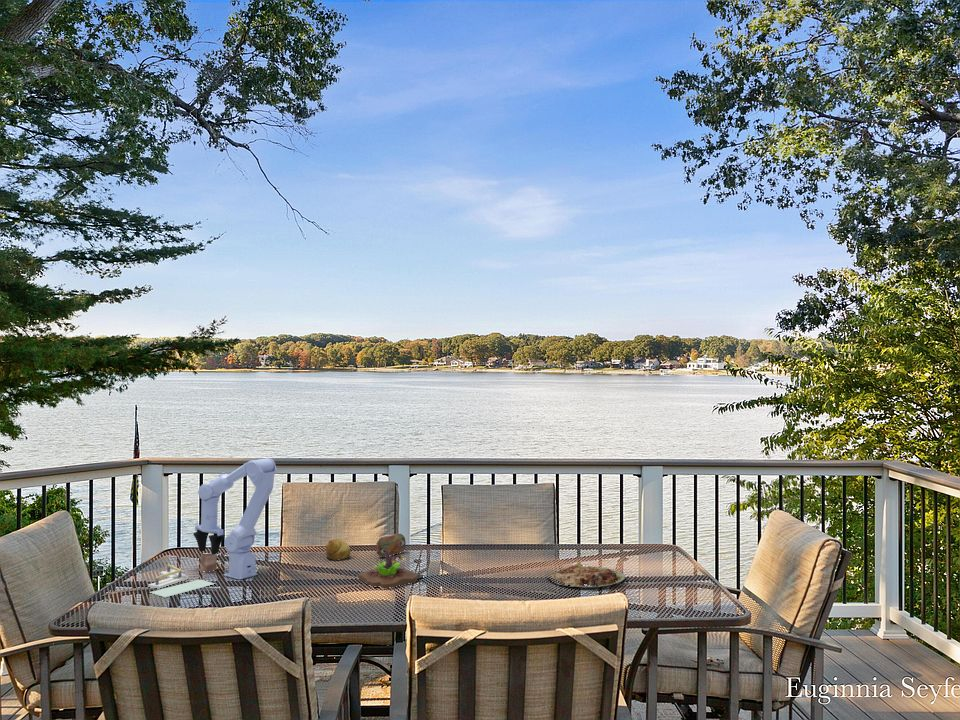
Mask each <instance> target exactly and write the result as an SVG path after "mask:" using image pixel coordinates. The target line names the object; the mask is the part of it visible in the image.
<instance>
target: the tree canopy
mask: <svg viewBox="0 0 960 720" xmlns="http://www.w3.org/2000/svg"><path fill="white" fill-rule="evenodd" d="M406 545H407V544H406V538H405V536H404V535H403V534H401V533H393V534H388V535H385V536H381V537H380V538H379V539H377V542H376V546H375V547H376V548H375V549H376V554H377V555H378V556H379V557H380V556H382V557H381V558H384V557H385V556H386V552H385V553H384V554H383V553H382V550H383V549H386V550H387V552H388V555H393V554H397V553H400V552H402V553H403V552H404V551H405V549H406Z"/></svg>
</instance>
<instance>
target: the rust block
mask: <svg viewBox="0 0 960 720" xmlns="http://www.w3.org/2000/svg"><path fill="white" fill-rule="evenodd" d="M217 558H218V556H217V554H214V555H213V554H212V552H211V553H206V554H201V555H200V569H199V571H205V572H209V571H213V570H216V571H217V563H218V562H217Z"/></svg>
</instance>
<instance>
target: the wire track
mask: <svg viewBox="0 0 960 720" xmlns="http://www.w3.org/2000/svg"><path fill="white" fill-rule="evenodd" d="M166 577H167V578H166ZM163 578H165V579H163ZM160 579H161V580H160ZM187 579H189V576H188V575H186V574H184V573H183V570H182V569H181V568H178V566H177V567H176V566H175V565H172V564H171V563H168V564H167V566H166V570H165V571H160V572H159V575H158V576H155V582H153V583H149V584H147V588H148V587H150V588H149V589H153V588H157V589H156V590H160V588H162V589H164V588H163V587H165V588H167V587H166V586H168V587H170V586H169V585H171V586H173V585H172V584H174V585H176V584H175V583H177V584H179V583H178V582H180V583H182V582H181V581H183V582H185V581H184V580H186V581H188V580H187ZM189 580H190V579H189Z"/></svg>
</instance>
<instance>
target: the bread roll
mask: <svg viewBox="0 0 960 720" xmlns="http://www.w3.org/2000/svg"><path fill="white" fill-rule="evenodd" d="M325 554H326V557H327V558H328V559H330V560H331V559H334V560H333V561H339V560H338V559H342V560H345V558H346V559H347V558H348V557H350V555H351V547H350V546H349V544H348V543H347V542H345V541H344V540H342V539H332V540H329V541H328V542H327V544H326V547H325Z"/></svg>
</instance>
